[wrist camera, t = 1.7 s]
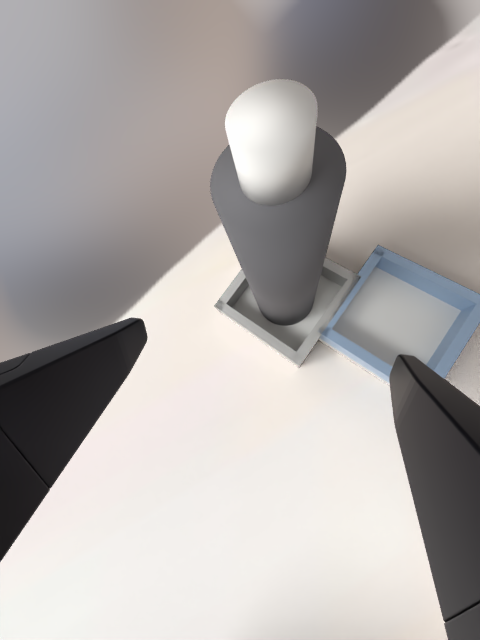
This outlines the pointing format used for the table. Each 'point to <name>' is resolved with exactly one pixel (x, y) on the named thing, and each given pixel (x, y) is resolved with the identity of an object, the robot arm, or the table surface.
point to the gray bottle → (279, 195)
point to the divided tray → (369, 315)
